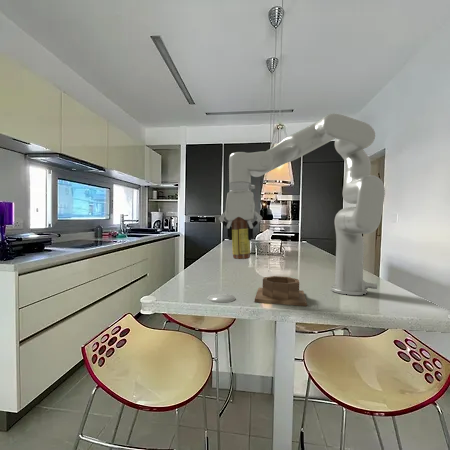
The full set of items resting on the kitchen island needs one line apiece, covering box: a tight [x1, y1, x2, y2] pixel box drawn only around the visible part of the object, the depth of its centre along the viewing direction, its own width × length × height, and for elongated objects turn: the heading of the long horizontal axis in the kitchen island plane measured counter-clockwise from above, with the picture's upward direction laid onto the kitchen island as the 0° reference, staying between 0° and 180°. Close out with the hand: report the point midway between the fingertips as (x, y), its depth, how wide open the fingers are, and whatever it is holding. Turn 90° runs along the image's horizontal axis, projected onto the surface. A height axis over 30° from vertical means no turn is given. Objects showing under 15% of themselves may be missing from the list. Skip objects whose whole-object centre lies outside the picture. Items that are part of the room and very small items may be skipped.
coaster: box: [207, 293, 236, 304], centre depth 94 cm, size 9×9×1 cm
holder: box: [254, 275, 308, 307], centre depth 97 cm, size 16×16×6 cm
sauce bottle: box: [231, 217, 251, 260], centre depth 100 cm, size 6×6×20 cm
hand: (240, 239), depth 100 cm, fingers closed on sauce bottle, 6 cm apart
